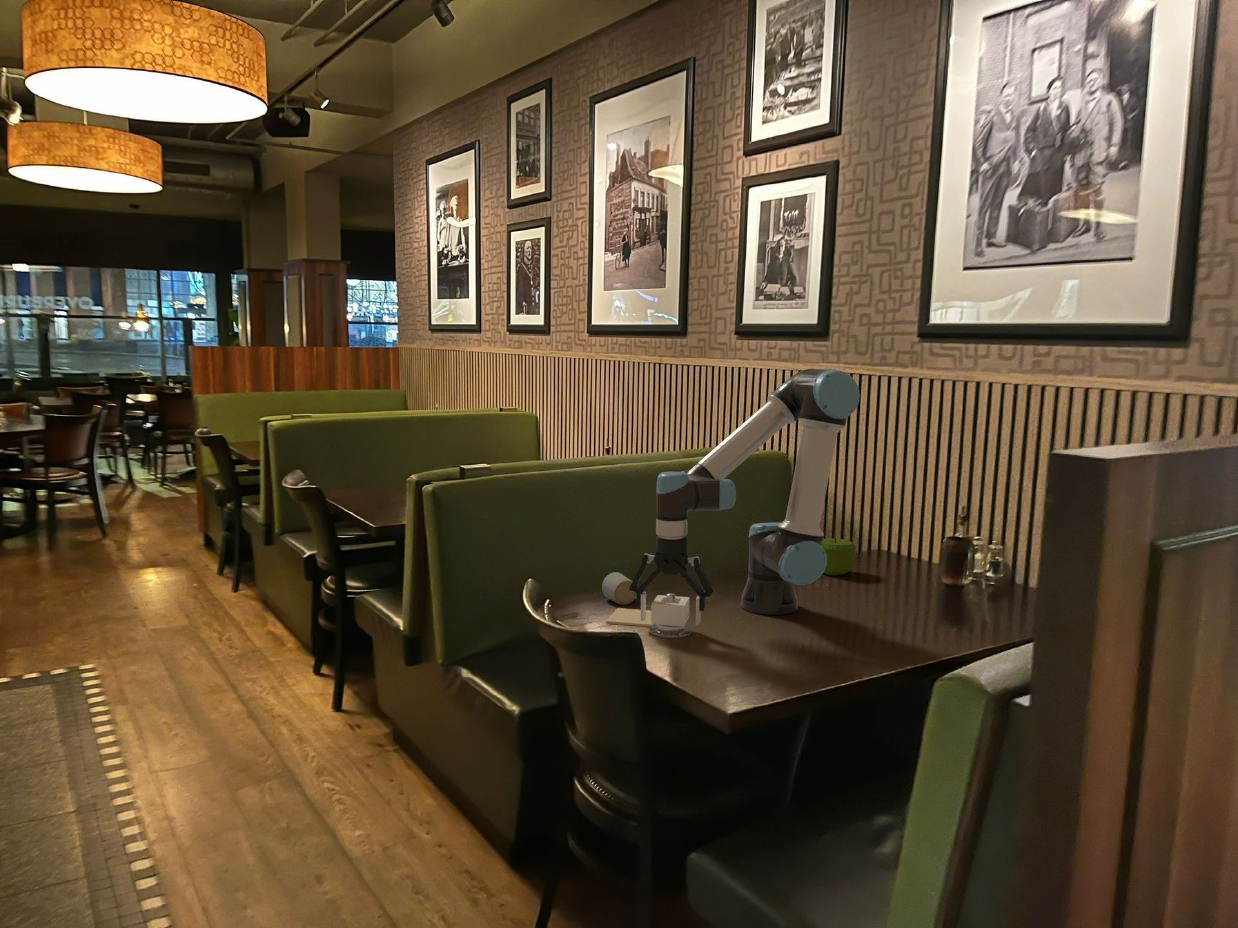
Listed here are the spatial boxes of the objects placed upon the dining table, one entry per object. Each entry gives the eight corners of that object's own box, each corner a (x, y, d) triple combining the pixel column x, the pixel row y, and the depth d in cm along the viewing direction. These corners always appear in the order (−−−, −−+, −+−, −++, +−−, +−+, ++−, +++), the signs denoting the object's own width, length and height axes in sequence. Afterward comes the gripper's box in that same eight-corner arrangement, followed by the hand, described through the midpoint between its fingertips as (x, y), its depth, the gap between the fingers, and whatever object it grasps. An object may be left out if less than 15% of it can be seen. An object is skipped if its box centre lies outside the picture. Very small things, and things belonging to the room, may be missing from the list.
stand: (693, 627, 222) (694, 590, 221) (687, 640, 213) (687, 601, 211) (654, 624, 225) (654, 587, 223) (646, 636, 215) (646, 598, 214)
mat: (661, 613, 234) (661, 611, 234) (652, 626, 223) (652, 624, 223) (617, 610, 237) (617, 607, 237) (606, 623, 225) (606, 620, 225)
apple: (859, 578, 272) (860, 542, 270) (818, 578, 272) (820, 541, 270) (849, 568, 284) (850, 533, 283) (810, 568, 284) (811, 533, 283)
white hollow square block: (689, 616, 221) (689, 597, 220) (683, 626, 213) (684, 606, 213) (657, 614, 223) (657, 594, 222) (651, 623, 215) (651, 603, 215)
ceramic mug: (615, 607, 239) (615, 579, 238) (601, 600, 246) (601, 573, 245) (649, 603, 244) (650, 576, 243) (634, 596, 251) (635, 569, 250)
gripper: (725, 535, 216) (723, 620, 219) (624, 530, 222) (624, 612, 225) (721, 541, 209) (719, 629, 212) (617, 536, 215) (617, 621, 217)
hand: (670, 621), depth 218 cm, fingers open, 13 cm apart
